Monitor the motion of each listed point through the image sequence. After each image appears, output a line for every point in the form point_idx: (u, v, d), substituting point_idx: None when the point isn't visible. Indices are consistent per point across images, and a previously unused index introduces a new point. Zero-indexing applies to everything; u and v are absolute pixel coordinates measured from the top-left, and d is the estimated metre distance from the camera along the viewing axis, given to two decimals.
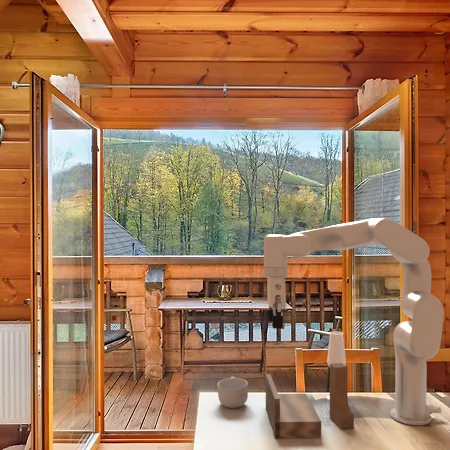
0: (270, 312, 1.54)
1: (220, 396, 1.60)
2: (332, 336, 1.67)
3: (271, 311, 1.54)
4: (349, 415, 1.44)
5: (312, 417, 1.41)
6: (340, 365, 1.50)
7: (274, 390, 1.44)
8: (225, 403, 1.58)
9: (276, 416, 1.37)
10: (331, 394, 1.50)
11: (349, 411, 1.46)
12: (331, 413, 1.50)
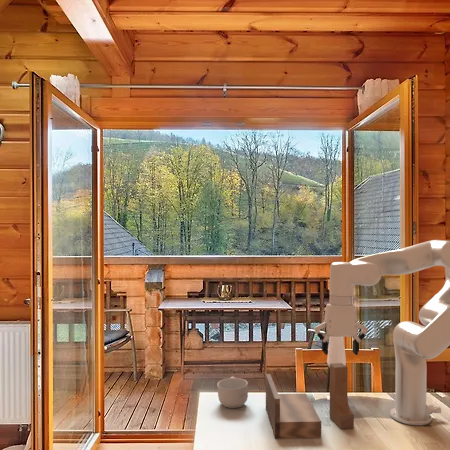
0: None
1: (220, 396, 1.60)
2: (332, 336, 1.67)
3: None
4: (349, 415, 1.44)
5: (312, 417, 1.41)
6: (340, 365, 1.50)
7: (274, 390, 1.44)
8: (225, 403, 1.58)
9: (276, 416, 1.37)
10: (331, 394, 1.50)
11: (349, 411, 1.46)
12: (331, 413, 1.50)
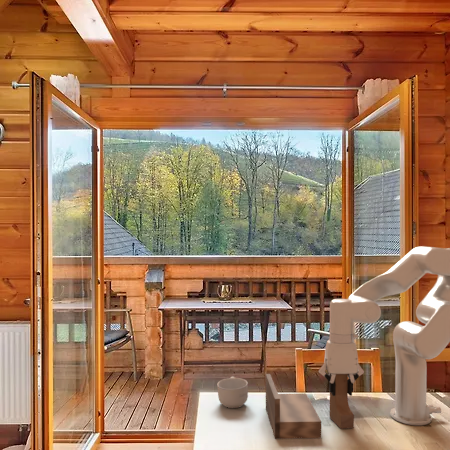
0: None
1: (220, 396, 1.60)
2: None
3: None
4: (349, 415, 1.44)
5: (312, 417, 1.41)
6: None
7: (274, 390, 1.44)
8: (225, 403, 1.58)
9: (276, 416, 1.37)
10: (331, 394, 1.50)
11: (349, 411, 1.46)
12: (331, 413, 1.50)
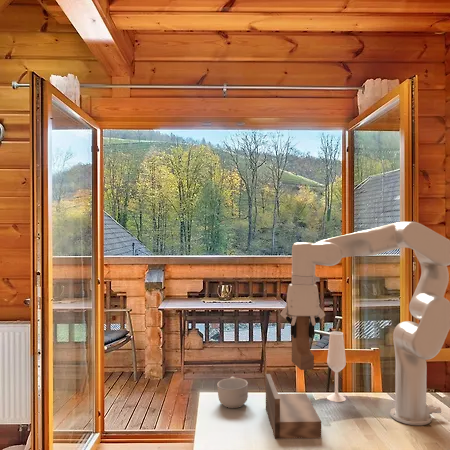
0: None
1: (220, 396, 1.60)
2: (332, 336, 1.67)
3: (295, 327, 1.48)
4: (309, 356, 1.44)
5: (312, 417, 1.41)
6: None
7: (274, 390, 1.44)
8: (225, 403, 1.58)
9: (276, 416, 1.37)
10: None
11: (310, 353, 1.46)
12: (293, 356, 1.51)
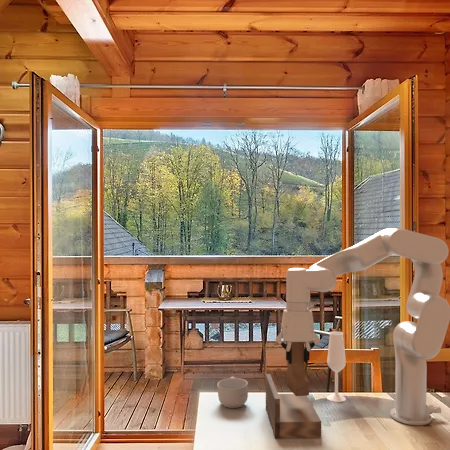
0: None
1: (220, 396, 1.60)
2: (332, 336, 1.67)
3: (290, 352, 1.48)
4: (305, 382, 1.44)
5: (312, 417, 1.41)
6: None
7: (274, 390, 1.44)
8: (225, 403, 1.58)
9: (276, 416, 1.37)
10: (288, 363, 1.51)
11: (305, 379, 1.46)
12: (288, 382, 1.51)
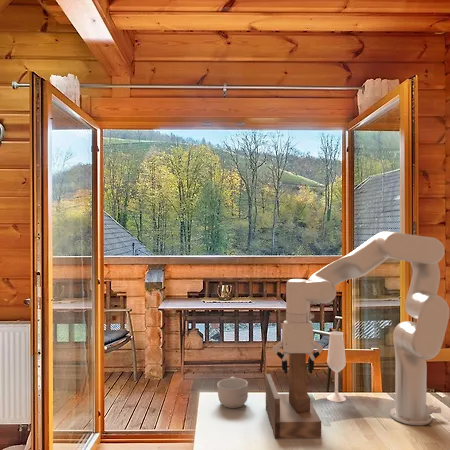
0: None
1: (220, 396, 1.60)
2: (332, 336, 1.67)
3: (286, 362, 1.48)
4: (306, 398, 1.44)
5: (312, 417, 1.41)
6: None
7: (274, 390, 1.44)
8: (225, 403, 1.58)
9: (276, 416, 1.37)
10: (290, 378, 1.51)
11: (306, 395, 1.46)
12: (290, 397, 1.51)
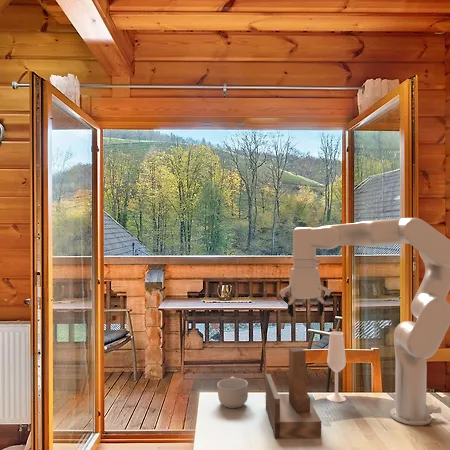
0: None
1: (220, 396, 1.60)
2: (332, 336, 1.67)
3: (292, 306, 1.52)
4: (306, 398, 1.44)
5: (312, 417, 1.41)
6: (299, 349, 1.50)
7: (274, 390, 1.44)
8: (225, 403, 1.58)
9: (276, 416, 1.37)
10: (290, 378, 1.51)
11: (306, 395, 1.46)
12: (290, 397, 1.51)
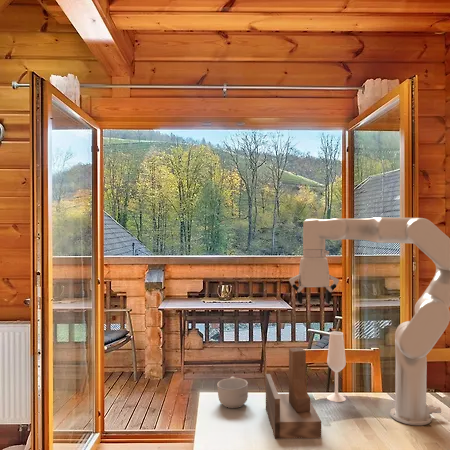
0: (301, 294, 1.59)
1: (220, 396, 1.60)
2: (332, 336, 1.67)
3: (301, 293, 1.60)
4: (306, 398, 1.44)
5: (312, 417, 1.41)
6: (299, 349, 1.50)
7: (274, 390, 1.44)
8: (225, 403, 1.58)
9: (276, 416, 1.37)
10: (290, 378, 1.51)
11: (306, 395, 1.46)
12: (290, 397, 1.51)
